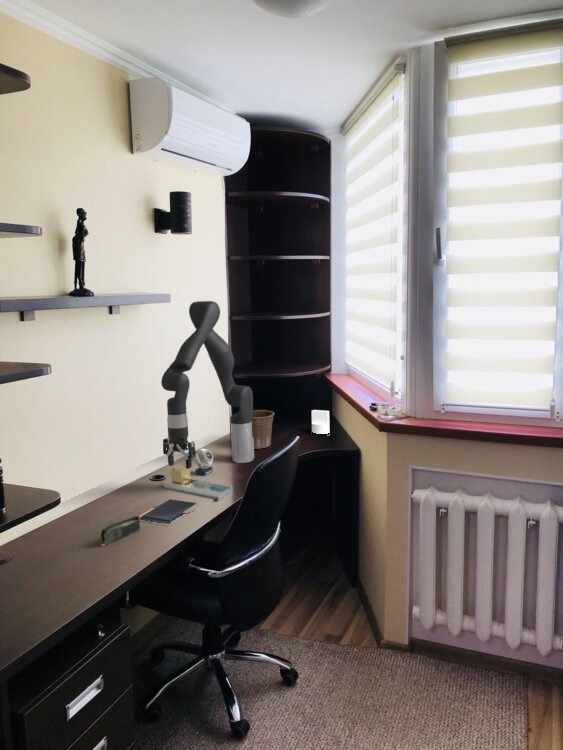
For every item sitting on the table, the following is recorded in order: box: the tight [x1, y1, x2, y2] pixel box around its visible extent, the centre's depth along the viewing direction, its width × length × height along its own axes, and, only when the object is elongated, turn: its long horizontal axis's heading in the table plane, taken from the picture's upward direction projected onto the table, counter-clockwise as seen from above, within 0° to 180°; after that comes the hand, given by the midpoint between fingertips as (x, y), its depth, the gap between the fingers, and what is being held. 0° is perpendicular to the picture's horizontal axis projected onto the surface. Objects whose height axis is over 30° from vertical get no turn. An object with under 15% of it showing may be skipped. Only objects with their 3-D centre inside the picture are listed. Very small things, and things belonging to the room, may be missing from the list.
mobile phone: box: [100, 515, 141, 547], centre depth 178 cm, size 5×3×15 cm
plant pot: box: [252, 409, 275, 450], centre depth 274 cm, size 16×16×16 cm
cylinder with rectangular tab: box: [311, 409, 331, 434], centre depth 293 cm, size 9×9×12 cm
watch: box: [193, 448, 214, 477], centre depth 234 cm, size 6×8×11 cm
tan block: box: [170, 465, 192, 485], centre depth 220 cm, size 5×5×7 cm
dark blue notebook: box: [138, 498, 197, 524], centre depth 198 cm, size 20×2×15 cm
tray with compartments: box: [163, 477, 233, 502], centre depth 216 cm, size 8×26×3 cm, turn 58°
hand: (179, 466), depth 219 cm, fingers open, 8 cm apart
